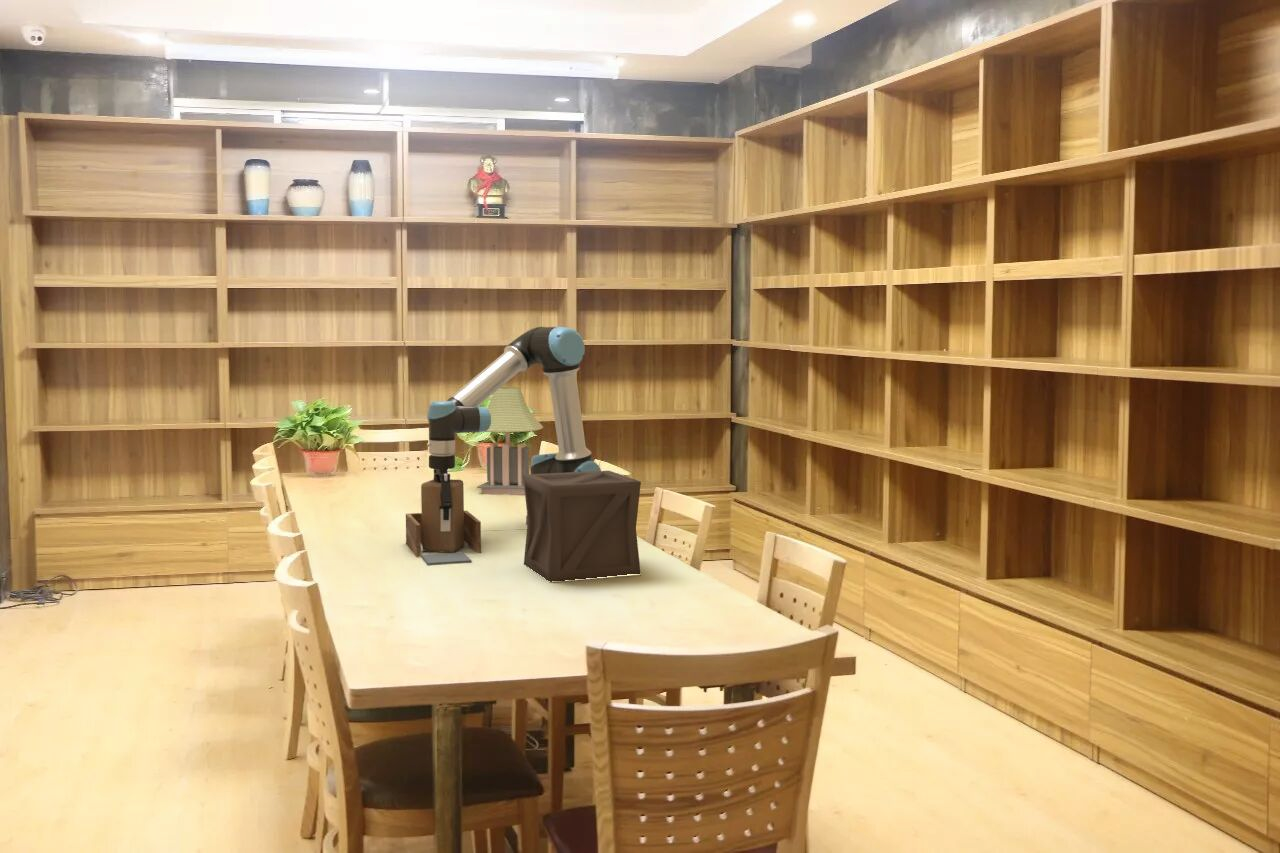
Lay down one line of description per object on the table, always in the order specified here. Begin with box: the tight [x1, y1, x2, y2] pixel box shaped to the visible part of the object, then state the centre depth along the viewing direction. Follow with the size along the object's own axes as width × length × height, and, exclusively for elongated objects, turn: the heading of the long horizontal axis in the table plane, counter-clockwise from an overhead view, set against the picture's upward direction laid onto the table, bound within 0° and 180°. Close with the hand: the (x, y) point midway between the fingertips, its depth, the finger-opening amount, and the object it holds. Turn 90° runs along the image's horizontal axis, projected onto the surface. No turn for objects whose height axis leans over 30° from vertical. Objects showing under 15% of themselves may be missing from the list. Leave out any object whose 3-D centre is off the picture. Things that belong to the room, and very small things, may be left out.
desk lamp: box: [476, 386, 544, 496], centre depth 479 cm, size 26×28×40 cm
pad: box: [420, 552, 473, 566], centre depth 349 cm, size 12×12×1 cm
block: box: [420, 478, 465, 553], centre depth 363 cm, size 10×10×20 cm
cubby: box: [405, 510, 482, 558], centre depth 366 cm, size 18×21×9 cm
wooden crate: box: [523, 470, 642, 583], centre depth 334 cm, size 25×25×25 cm
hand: (441, 527), depth 364 cm, fingers open, 13 cm apart
